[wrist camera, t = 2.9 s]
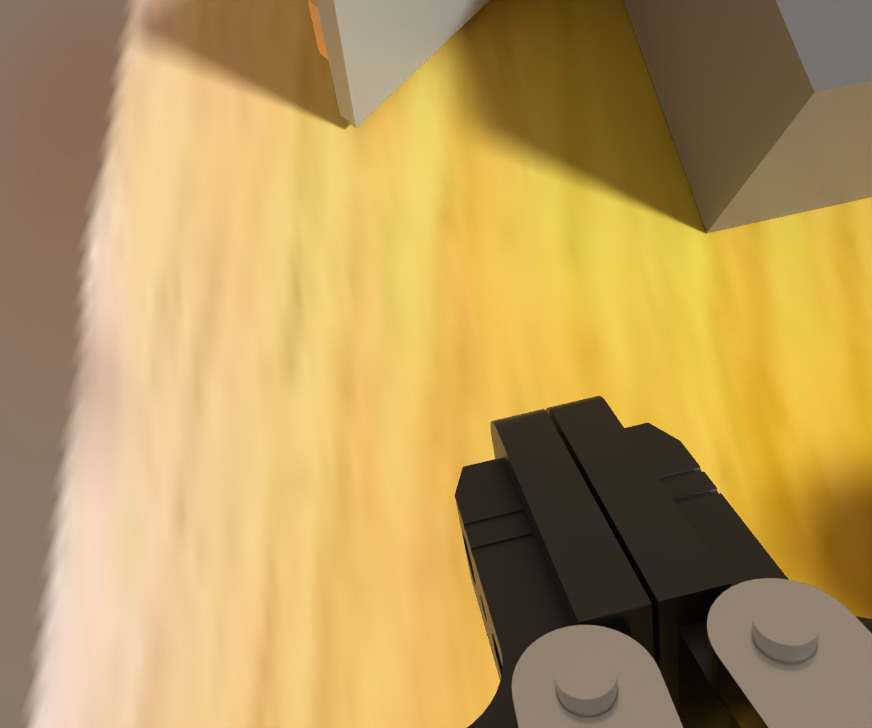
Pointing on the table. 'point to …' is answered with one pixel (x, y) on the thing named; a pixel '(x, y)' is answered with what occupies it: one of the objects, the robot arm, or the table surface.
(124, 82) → the table surface
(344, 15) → the door
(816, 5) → the block
